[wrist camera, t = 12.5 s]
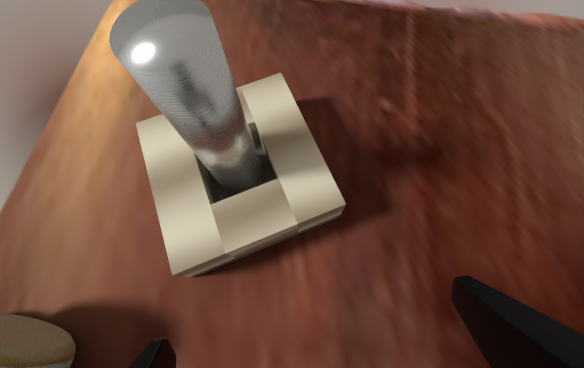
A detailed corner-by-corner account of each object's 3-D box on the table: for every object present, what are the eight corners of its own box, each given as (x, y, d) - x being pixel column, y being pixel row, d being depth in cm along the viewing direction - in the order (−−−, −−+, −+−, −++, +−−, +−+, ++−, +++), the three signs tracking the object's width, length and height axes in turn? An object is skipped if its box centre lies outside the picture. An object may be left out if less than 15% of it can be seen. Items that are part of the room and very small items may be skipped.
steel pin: (273, 175, 23) (234, 25, 10) (241, 206, 22) (150, 88, 9) (243, 148, 24) (170, -22, 11) (211, 177, 23) (89, 32, 10)
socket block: (338, 217, 22) (346, 204, 19) (195, 277, 21) (172, 275, 18) (284, 102, 26) (280, 72, 23) (160, 147, 25) (135, 123, 21)
